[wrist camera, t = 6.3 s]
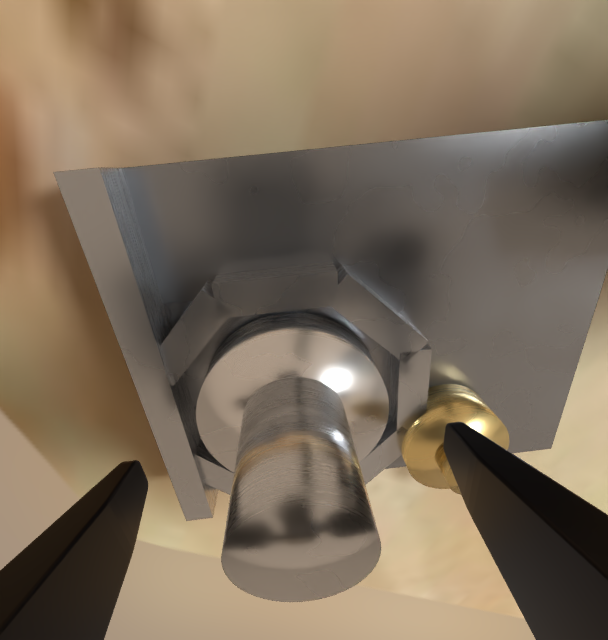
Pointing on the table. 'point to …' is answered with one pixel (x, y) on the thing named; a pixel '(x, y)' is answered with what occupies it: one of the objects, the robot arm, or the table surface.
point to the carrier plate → (361, 279)
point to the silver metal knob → (295, 454)
